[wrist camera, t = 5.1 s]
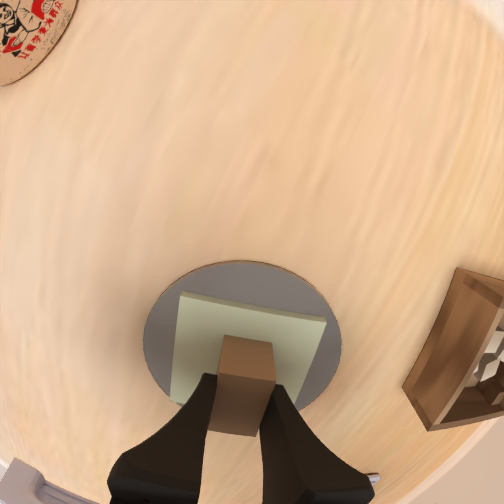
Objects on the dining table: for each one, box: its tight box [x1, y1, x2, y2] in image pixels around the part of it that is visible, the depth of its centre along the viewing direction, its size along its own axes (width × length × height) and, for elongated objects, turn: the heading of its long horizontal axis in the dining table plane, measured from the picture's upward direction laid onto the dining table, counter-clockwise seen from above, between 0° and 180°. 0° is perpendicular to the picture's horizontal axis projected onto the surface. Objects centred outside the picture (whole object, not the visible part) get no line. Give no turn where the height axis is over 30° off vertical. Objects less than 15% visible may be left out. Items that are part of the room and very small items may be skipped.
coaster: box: [143, 261, 342, 411], centre depth 16 cm, size 11×11×1 cm
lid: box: [170, 291, 327, 437], centre depth 14 cm, size 7×7×4 cm
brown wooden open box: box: [402, 268, 504, 432], centre depth 14 cm, size 9×9×4 cm
